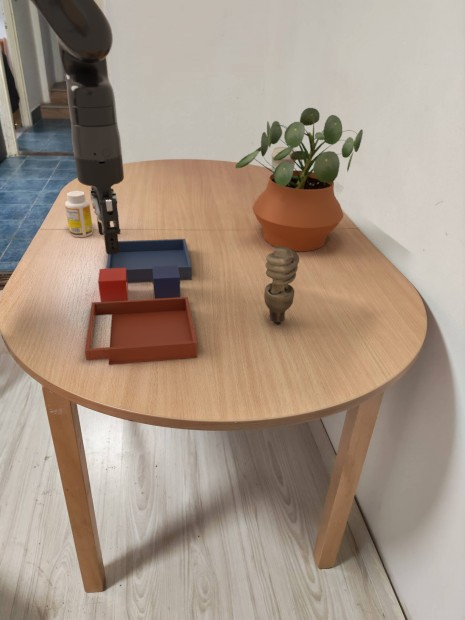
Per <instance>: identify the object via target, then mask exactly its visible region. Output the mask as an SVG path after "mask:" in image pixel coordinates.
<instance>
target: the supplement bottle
mask: <svg viewBox="0 0 465 620" xmlns="http://www.w3.org/2000/svg"><path fill="white" fill-rule="evenodd" d="M85 195H86V194H85V192H84V191H82V190H72V191H68V192H67V193H66V199H67V200H66V201H65V202H64V206H65V207H64V208H65V213H66V218H67V226H68V231H69V234H70V235H71V236H72V237H75V238H85V237H89V236H91V235H92V234H93V232H94V227H93V220H92V219H93V218H92V213H91V212H92V211H91V205H90V201H89V200H88V199H86V196H85Z"/></svg>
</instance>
